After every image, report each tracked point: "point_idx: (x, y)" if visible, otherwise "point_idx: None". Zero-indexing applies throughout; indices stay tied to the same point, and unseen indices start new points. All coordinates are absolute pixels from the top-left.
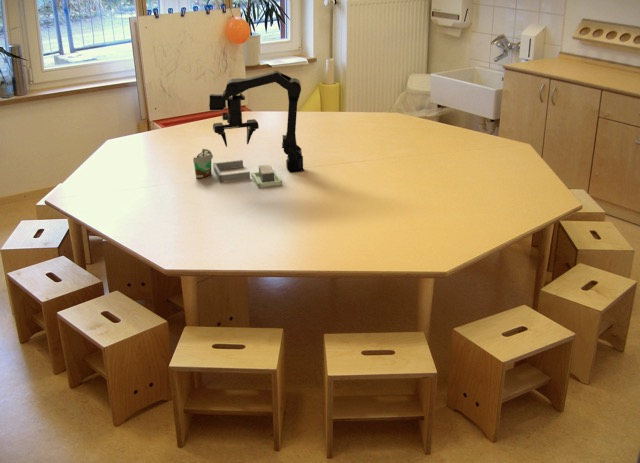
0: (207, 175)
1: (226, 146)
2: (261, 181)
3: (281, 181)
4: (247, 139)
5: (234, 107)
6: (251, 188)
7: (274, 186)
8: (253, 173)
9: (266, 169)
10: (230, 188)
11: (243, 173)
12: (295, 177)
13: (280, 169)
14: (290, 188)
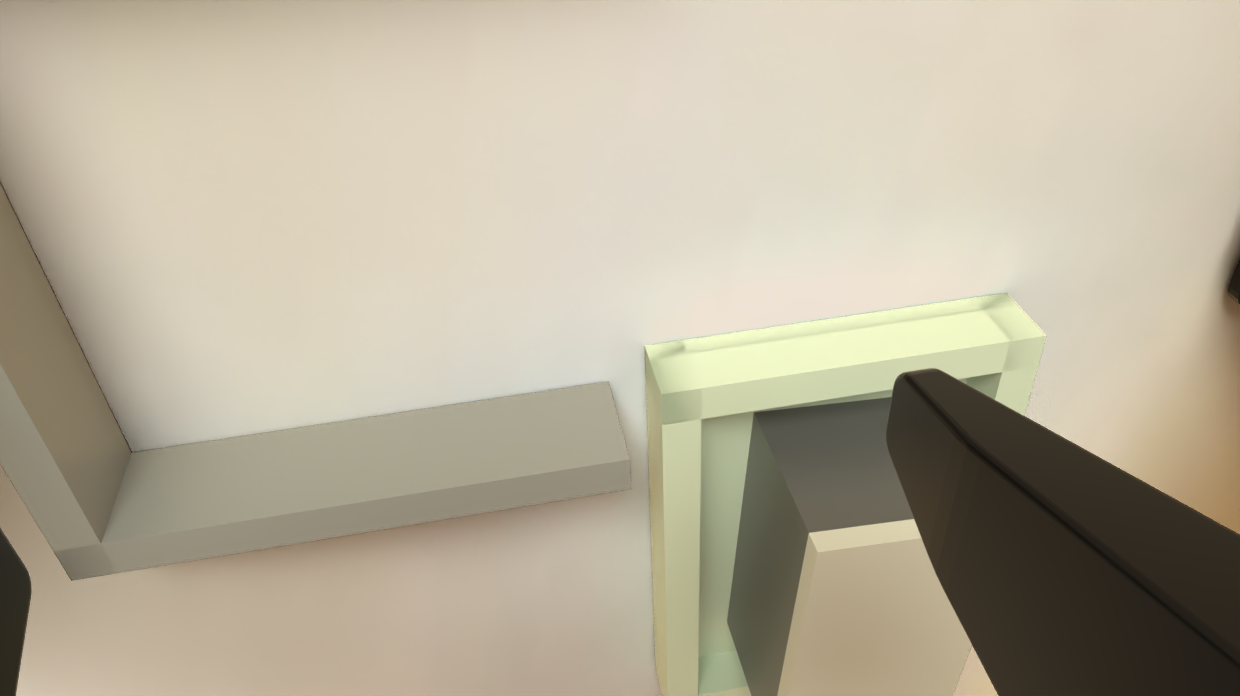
0: None
1: (7, 605)
2: (735, 561)
3: None
4: (994, 644)
5: None
6: (573, 661)
7: None
8: (686, 438)
9: (874, 682)
10: (302, 655)
11: (517, 499)
12: (1182, 435)
13: (1192, 115)
14: (969, 670)
